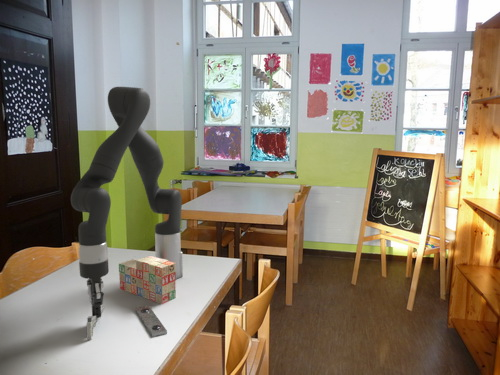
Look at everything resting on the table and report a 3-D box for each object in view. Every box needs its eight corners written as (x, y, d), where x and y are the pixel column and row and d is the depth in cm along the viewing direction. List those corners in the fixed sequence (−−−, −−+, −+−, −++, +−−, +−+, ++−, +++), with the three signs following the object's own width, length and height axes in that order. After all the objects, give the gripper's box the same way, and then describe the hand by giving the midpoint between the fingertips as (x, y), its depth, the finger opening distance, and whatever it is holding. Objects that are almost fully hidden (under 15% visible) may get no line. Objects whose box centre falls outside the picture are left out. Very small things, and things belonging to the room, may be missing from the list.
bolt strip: (149, 308, 126) (148, 305, 126) (167, 333, 111) (166, 330, 111) (136, 310, 125) (135, 307, 124) (152, 336, 109) (152, 333, 109)
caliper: (91, 342, 107) (90, 319, 106) (87, 342, 107) (86, 320, 106) (104, 309, 127) (103, 289, 126) (100, 309, 127) (100, 290, 126)
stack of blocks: (119, 289, 142) (118, 254, 140) (133, 283, 147) (132, 250, 145) (162, 304, 130) (161, 267, 128) (176, 298, 135) (175, 262, 133)
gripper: (112, 263, 109) (115, 323, 112) (103, 249, 120) (106, 305, 123) (82, 267, 105) (85, 330, 108) (76, 253, 117) (79, 310, 120)
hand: (96, 316), depth 116 cm, fingers closed
